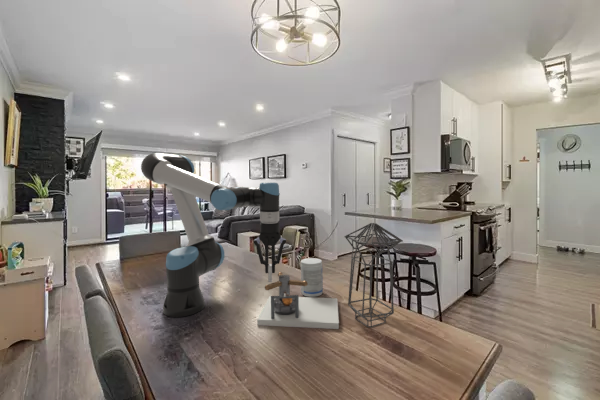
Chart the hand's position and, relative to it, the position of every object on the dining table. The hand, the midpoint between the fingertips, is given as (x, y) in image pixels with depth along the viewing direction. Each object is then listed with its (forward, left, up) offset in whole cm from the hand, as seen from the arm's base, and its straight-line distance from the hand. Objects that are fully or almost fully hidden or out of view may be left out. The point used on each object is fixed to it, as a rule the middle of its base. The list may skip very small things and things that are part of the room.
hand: (270, 280), depth 113 cm
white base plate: (+13, -5, -10) cm, 17 cm away
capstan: (+6, -4, -8) cm, 11 cm away
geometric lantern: (+39, -7, -10) cm, 41 cm away
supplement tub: (+16, +14, -11) cm, 23 cm away
